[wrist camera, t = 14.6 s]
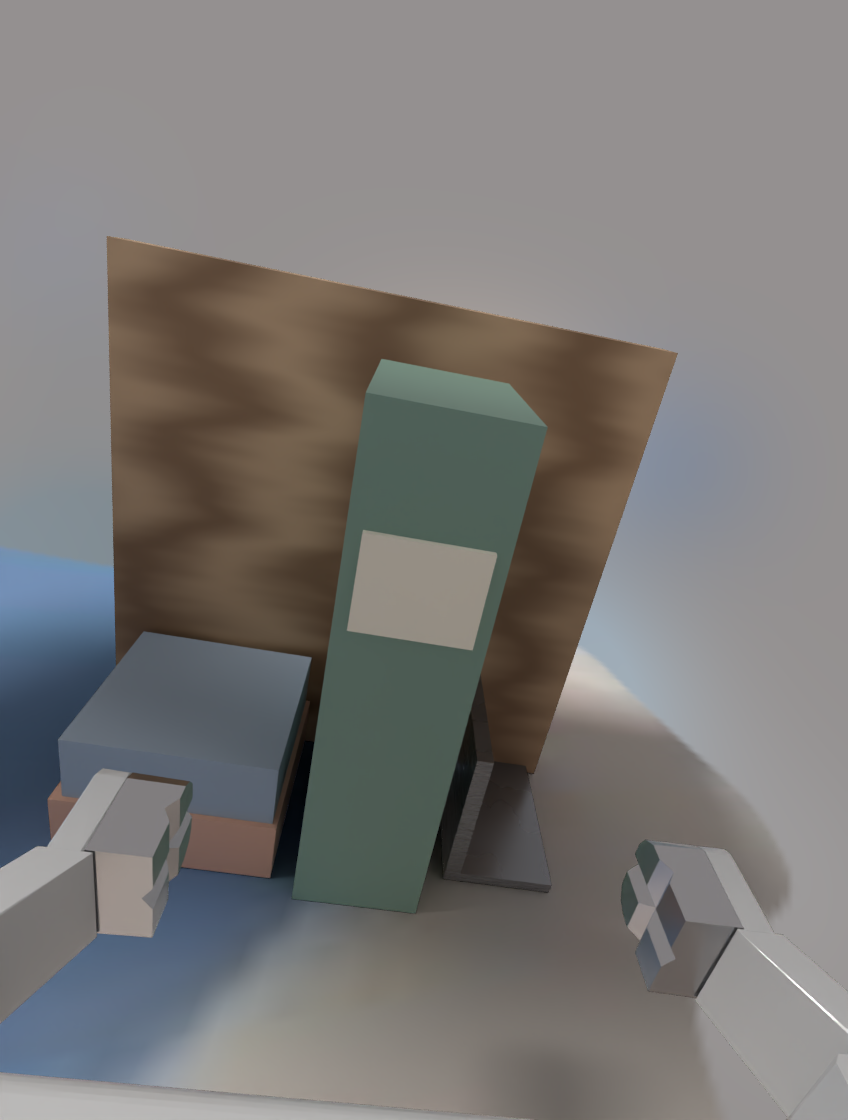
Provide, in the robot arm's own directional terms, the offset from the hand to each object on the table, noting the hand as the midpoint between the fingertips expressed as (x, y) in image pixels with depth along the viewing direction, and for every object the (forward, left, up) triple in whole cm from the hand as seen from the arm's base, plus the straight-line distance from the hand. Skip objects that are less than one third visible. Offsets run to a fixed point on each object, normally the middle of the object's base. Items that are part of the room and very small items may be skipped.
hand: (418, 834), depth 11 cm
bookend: (+5, +12, -12) cm, 17 cm away
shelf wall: (-2, +16, -12) cm, 20 cm away
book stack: (-7, +11, -12) cm, 18 cm away
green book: (0, +11, -12) cm, 16 cm away
